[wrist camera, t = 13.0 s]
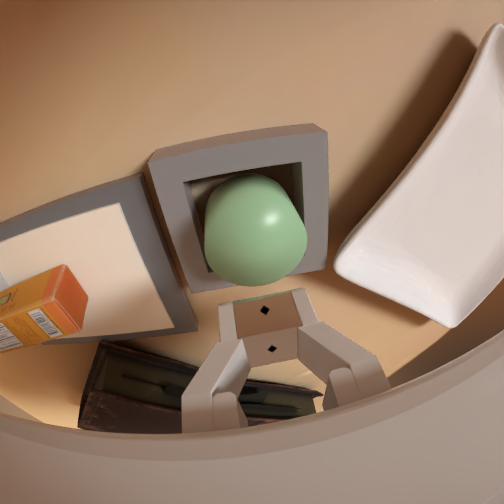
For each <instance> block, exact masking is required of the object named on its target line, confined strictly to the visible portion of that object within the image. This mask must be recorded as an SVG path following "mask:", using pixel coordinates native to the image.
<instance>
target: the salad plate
mask: <svg viewBox="0 0 504 504" xmlns="http://www.w3.org/2000/svg"><path fill="white" fill-rule="evenodd" d="M333 268H334V271H335V272H336V273H337V274H338V275H339V276H340V277H342V278H344V279H346V280H348V281H350V282H352V283H354V284H356V285H358V286H361V287H363V288H365V289H367V290H370V291H372V292H374V293H376V294H379V295H381V296H384V297H386V298H388V299H390V300H392V301H394V302H397V303H399V304H401V305H403V306H405V307H408V308H410V309H412V310H414V311H416V312H418V313H421V314H422V315H424V316H426V317H428V318H430V319H432V320H434V321H435V322H437V323H439V324H441V325H442V326H444V327H447V328H453V327H456V326H457V325H458V324H459V323H460V322H462V321H463V320H464V319H465V318H466V317H467V316H468V315H469V314H470V313H471V312H472V311H473V310H474V309H475V308H476V307H477V306H478V305H479V304H480V303H481V302H482V301H483V300H484V299H485V298H486V297H487V295H488V294H489V293H490V292H491V291H492V290H493V289H494V288H495V287H496V285H497V284H498V283H499V282H500V281H501V280H502V278H503V277H504V26H503V25H502V24H501V23H496V24H494V25H493V26H491V27H490V29H489V30H488V31H487V32H486V34H485V35H484V37H483V39H482V41H481V43H480V45H479V47H478V49H477V51H476V53H475V56H474V58H473V60H472V62H471V64H470V66H469V69H468V71H467V73H466V75H465V77H464V78H463V80H462V82H461V84H460V86H459V88H458V90H457V91H456V93H455V95H454V97H453V98H452V100H451V102H450V103H449V105H448V106H447V108H446V110H445V111H444V113H443V115H442V116H441V118H440V119H439V121H438V122H437V124H436V125H435V127H434V128H433V130H432V131H431V133H430V134H429V135H428V137H427V138H426V140H425V141H424V142H423V144H422V145H421V147H420V148H419V149H418V151H417V152H416V154H415V155H414V156H413V158H412V159H411V160H410V162H409V163H408V164H407V166H406V167H405V168H404V169H403V171H402V172H401V173H400V174H399V176H398V177H397V178H396V179H395V181H394V182H393V183H392V184H391V186H390V187H389V188H388V189H387V191H386V192H385V193H384V194H383V195H382V196H381V198H380V199H379V200H378V201H377V202H376V203H375V204H374V206H373V207H372V208H371V209H370V210H369V211H368V212H367V214H366V215H365V216H364V217H363V218H362V219H361V220H360V221H359V223H358V224H357V225H356V226H355V227H354V228H353V229H352V231H351V232H350V233H349V234H348V235H347V237H346V238H345V240H344V241H343V242H342V244H341V245H340V247H339V249H338V251H337V253H336V256H335V258H334V262H333Z"/></svg>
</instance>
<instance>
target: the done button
mask: <svg viewBox="0 0 504 504" xmlns="http://www.w3.org/2000/svg"><path fill="white" fill-rule="evenodd" d="M306 246H307V233H306V229H305V226H304V224H303V222H302V220H301V218H300V217H299V215H298V213H297V211H296V209H295V208H294V206H293V204H292V202H291V200H290V199H289V197H288V195H287V193H286V192H285V190H284V189H283V188H282V186H281V185H280V184H278V183H277V182H276V181H274V180H273V179H271V178H269V177H266V176H263V175H259V174H242V175H237V176H234V177H232V178H229V179H228V180H226V181H224V182H223V183H221V184H220V185H219V186H218V187H217V188H216V189H215V190H214V191H213V192H212V194H211V195H210V197H209V199H208V201H207V205H206V210H205V242H204V248H205V256H206V260H207V262H208V264H209V266H210V268H211V269H212V270H213V271H214V272H215V273H216V274H217V275H218V276H219V277H221V278H222V279H224V280H226V281H227V282H230V283H232V284H236V285H240V286H262V285H266V284H270V283H273V282H275V281H277V280H280V279H281V278H283V277H285V276H286V275H288V274H289V273H290V272H291V271H293V270H294V269H295V268H296V266H297V265H298V264H299V263H300V261H301V260H302V258H303V256H304V253H305V251H306Z"/></svg>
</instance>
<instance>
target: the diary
mask: <svg viewBox="0 0 504 504" xmlns="http://www.w3.org/2000/svg"><path fill="white" fill-rule="evenodd" d="M198 370H199V368H196V367H193V366H190V365H187V364H184V363H182V362H179V361H176V360H171V359H167V358H163V357H159V356H155V355H151V354H147V353H143V352H140V351H136V350H132V349H129V348H125V347H122V346H118V345H115V344H112V343H109V342H106V341H104V340H101V341H100V343H99V346H98V349H97V352H96V355H95V357H94V360H93V363H92V366H91V369H90V372H89V375H88V379H87V382H86V385H85V388H84V392H83V395H82V398H81V404H80V410H79V418H78V428H81V429H84V430H91V431H101V432H113V433H131V434H178V433H182V394H183V393H184V391H185V390H186V388H187V387H188V385H189V384H190V382H191V381H192V379H193V378H194V376H195V374H196V373H197V371H198ZM317 396H323V394H322V393H320V392H318V391H315V390H309V389H302V388H296V387H291V386H285V385H277V384H267V383H258V382H250V381H245V383H244V385H243V388H242V390H241V392H240V394H239V396H238V402H239V404H240V406H241V408H242V410H243V412H244V414H245V416H246V418H247V420H248V426H249V427H251V426H257V425H263V424H269V423H274V422H279V421H284V420H289V419H294V418H298V417H302V416H307V415H311V414H315V413H316V410H315V406H314V402H313V398H315V397H317Z"/></svg>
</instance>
